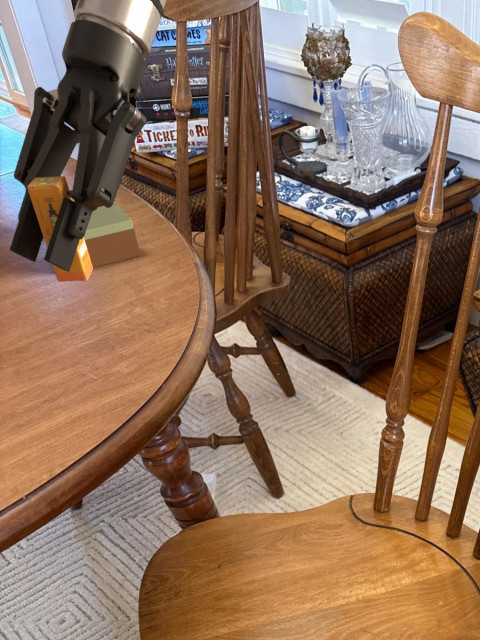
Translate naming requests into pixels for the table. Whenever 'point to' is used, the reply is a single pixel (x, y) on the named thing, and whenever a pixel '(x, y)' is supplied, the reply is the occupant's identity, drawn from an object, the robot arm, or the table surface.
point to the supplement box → (47, 206)
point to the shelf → (110, 236)
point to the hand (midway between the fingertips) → (39, 260)
